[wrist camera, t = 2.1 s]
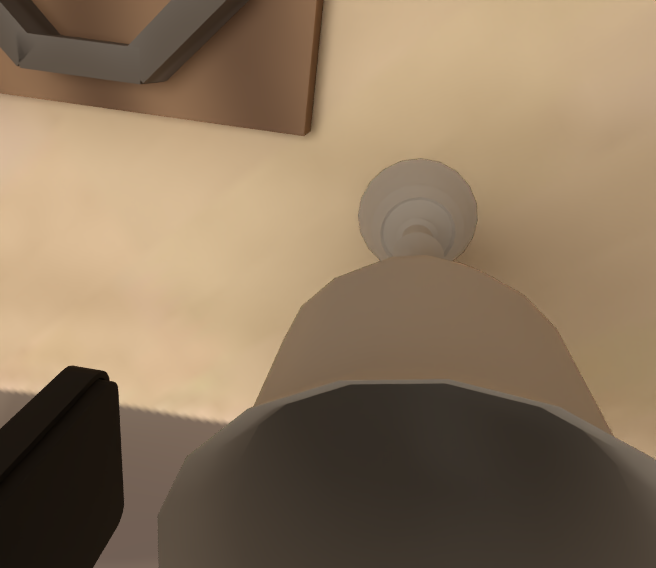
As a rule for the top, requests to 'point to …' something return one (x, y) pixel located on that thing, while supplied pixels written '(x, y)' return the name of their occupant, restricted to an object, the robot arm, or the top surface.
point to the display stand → (168, 57)
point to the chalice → (415, 423)
